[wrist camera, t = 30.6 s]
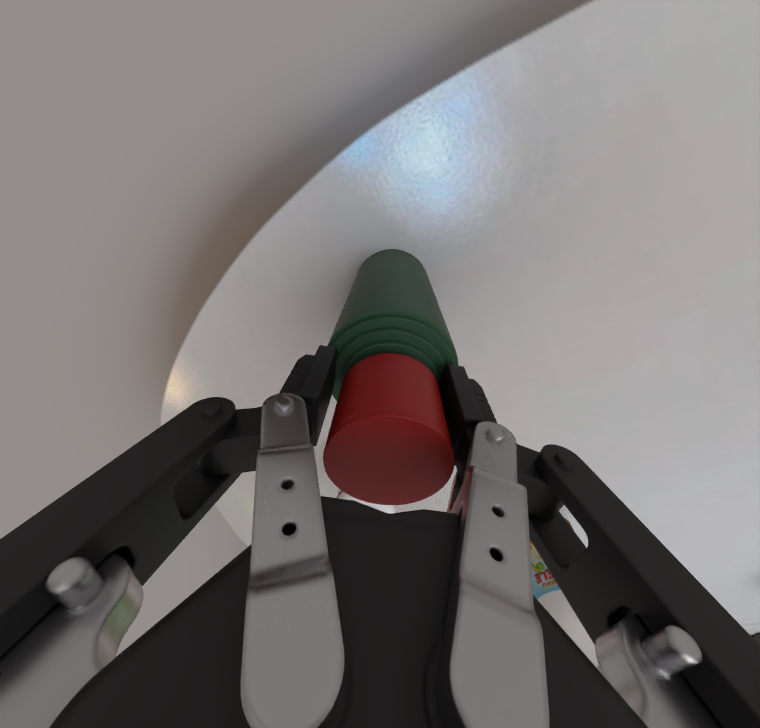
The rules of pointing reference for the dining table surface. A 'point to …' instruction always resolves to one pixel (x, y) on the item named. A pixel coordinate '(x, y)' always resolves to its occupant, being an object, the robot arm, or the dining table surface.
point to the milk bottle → (559, 603)
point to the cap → (389, 433)
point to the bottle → (391, 317)
